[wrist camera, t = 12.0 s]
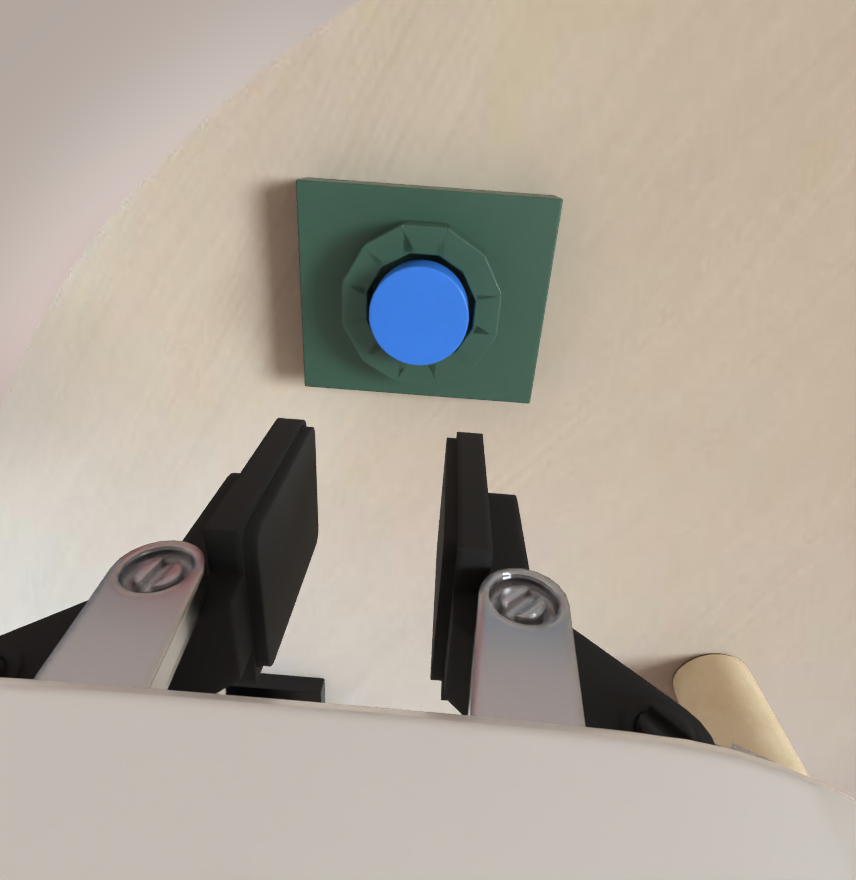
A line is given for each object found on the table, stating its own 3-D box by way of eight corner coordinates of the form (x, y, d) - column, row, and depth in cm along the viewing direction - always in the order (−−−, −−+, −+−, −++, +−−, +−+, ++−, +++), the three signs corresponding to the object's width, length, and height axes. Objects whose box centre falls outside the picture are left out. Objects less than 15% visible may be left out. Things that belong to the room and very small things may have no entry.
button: (373, 349, 27) (367, 361, 25) (374, 255, 25) (369, 262, 23) (463, 356, 27) (463, 369, 25) (472, 263, 25) (473, 270, 23)
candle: (657, 690, 42) (710, 834, 33) (700, 643, 40) (770, 785, 31) (718, 711, 43) (786, 857, 34) (764, 666, 40) (851, 811, 31)
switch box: (314, 371, 31) (295, 400, 28) (307, 177, 27) (284, 181, 23) (525, 388, 31) (533, 418, 28) (555, 195, 27) (570, 202, 23)
